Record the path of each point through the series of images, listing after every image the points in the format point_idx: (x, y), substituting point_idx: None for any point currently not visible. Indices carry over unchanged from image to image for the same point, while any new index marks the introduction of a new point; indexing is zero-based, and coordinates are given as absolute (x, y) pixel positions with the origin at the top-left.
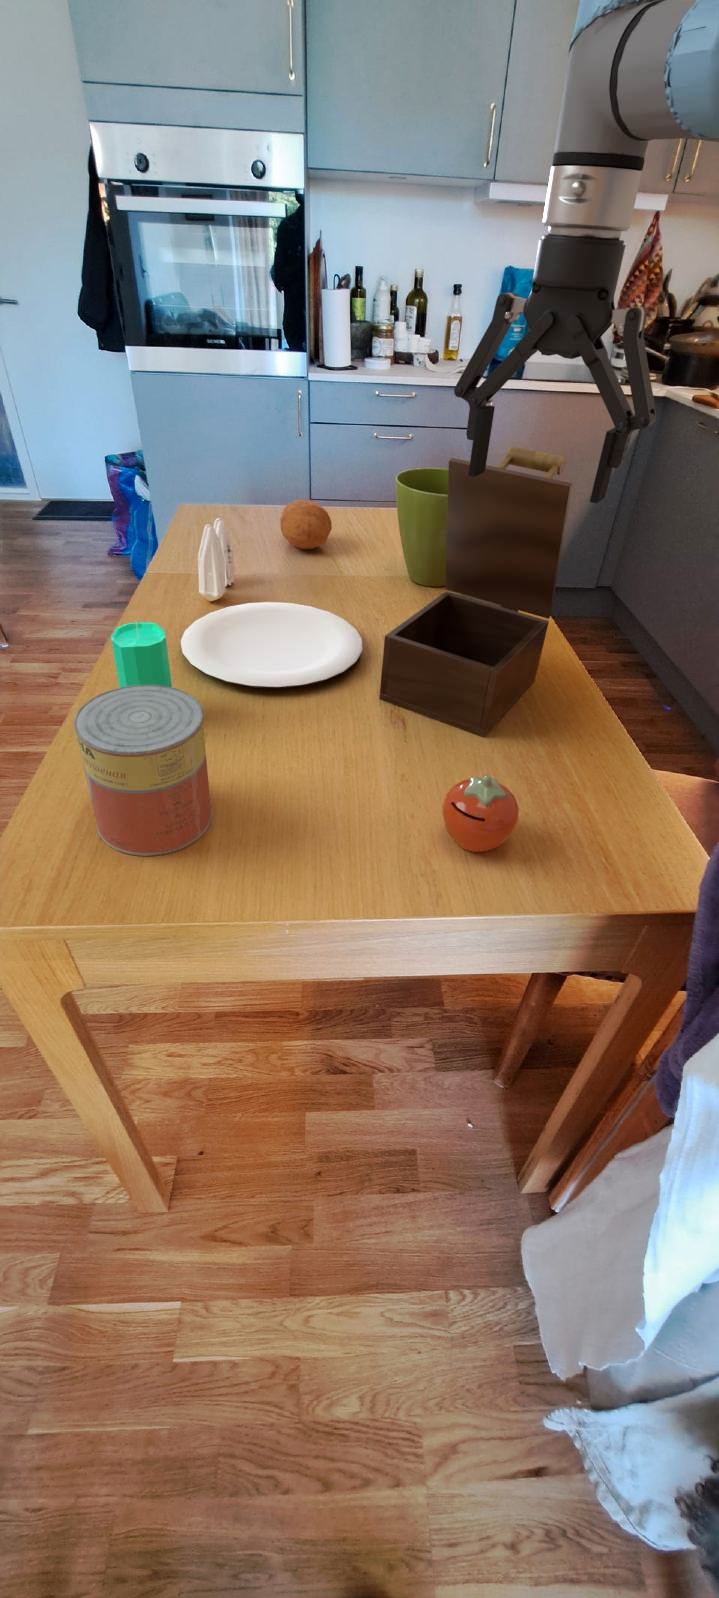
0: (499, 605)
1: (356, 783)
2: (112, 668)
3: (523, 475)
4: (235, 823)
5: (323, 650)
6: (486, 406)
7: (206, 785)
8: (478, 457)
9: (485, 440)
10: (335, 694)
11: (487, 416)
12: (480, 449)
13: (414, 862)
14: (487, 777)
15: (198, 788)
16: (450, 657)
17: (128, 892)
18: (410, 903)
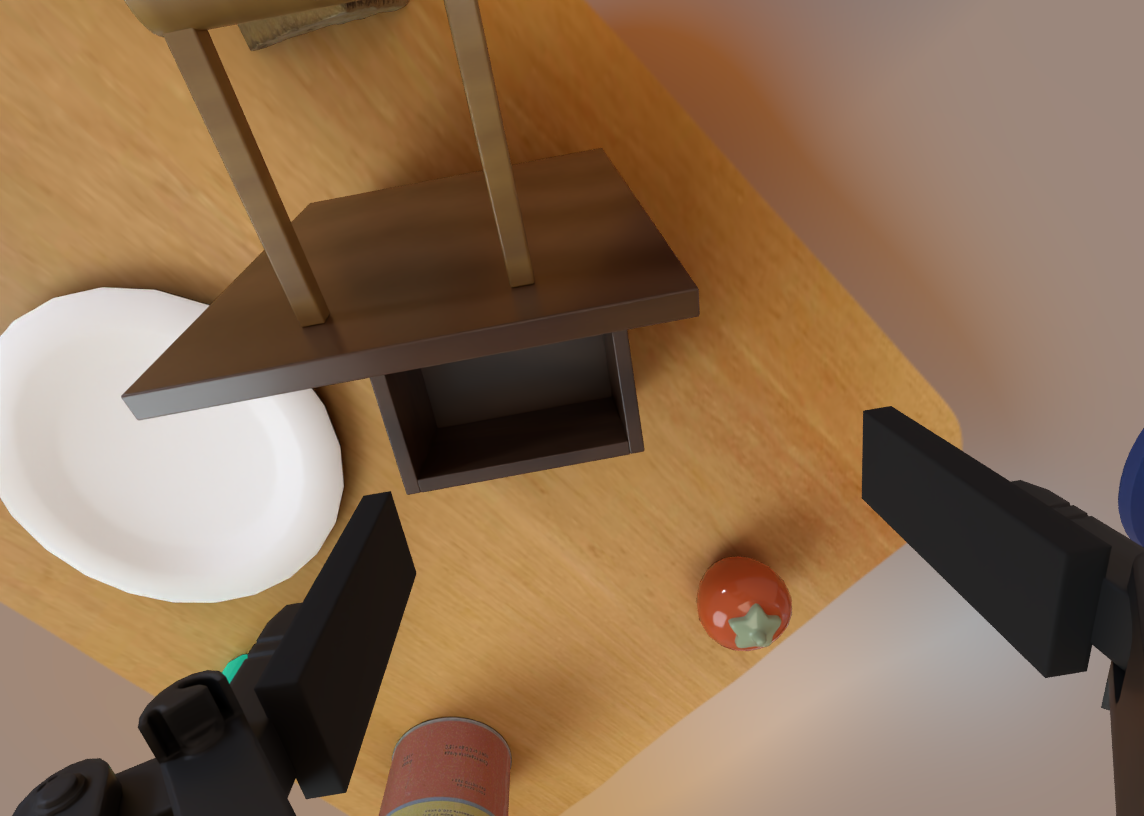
0: (376, 8)
1: (560, 596)
2: (102, 657)
3: (486, 348)
4: (516, 717)
5: (242, 404)
6: (275, 717)
7: (493, 780)
8: (397, 608)
9: (368, 609)
10: (373, 475)
11: (341, 713)
12: (390, 624)
13: (696, 639)
14: (763, 645)
15: (503, 802)
16: (548, 468)
17: (524, 812)
18: (725, 676)
